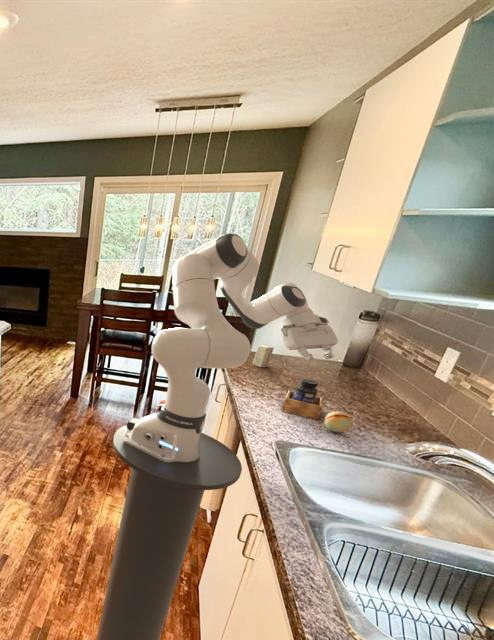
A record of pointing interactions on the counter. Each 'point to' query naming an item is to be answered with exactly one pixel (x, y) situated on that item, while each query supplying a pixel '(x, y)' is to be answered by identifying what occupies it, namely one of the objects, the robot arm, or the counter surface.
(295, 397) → the pill bottle
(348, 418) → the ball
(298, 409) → the holder
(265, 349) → the beige rectangular block
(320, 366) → the counter surface
